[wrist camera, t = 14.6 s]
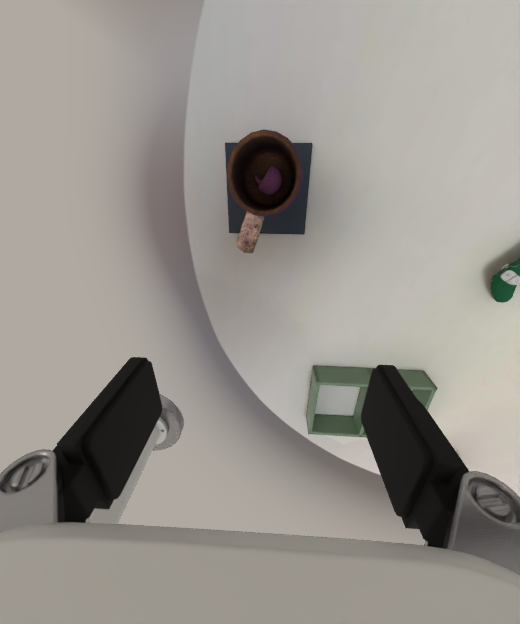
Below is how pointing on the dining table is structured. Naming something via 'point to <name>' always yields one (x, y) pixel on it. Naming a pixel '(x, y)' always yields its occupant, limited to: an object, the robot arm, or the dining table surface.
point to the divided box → (359, 378)
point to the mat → (287, 219)
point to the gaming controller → (506, 282)
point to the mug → (263, 180)
